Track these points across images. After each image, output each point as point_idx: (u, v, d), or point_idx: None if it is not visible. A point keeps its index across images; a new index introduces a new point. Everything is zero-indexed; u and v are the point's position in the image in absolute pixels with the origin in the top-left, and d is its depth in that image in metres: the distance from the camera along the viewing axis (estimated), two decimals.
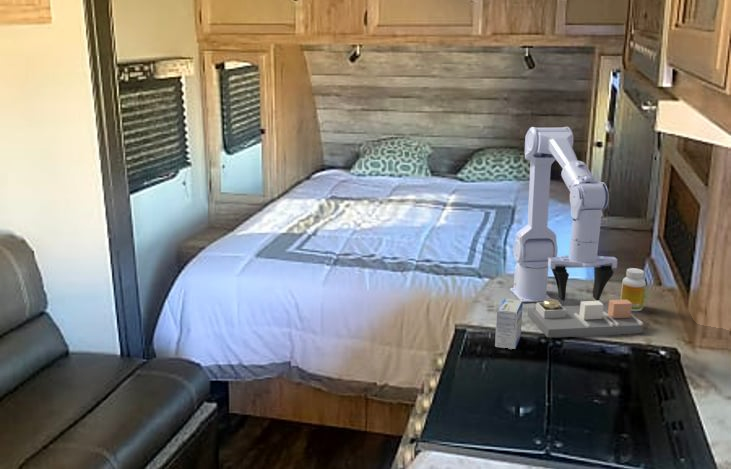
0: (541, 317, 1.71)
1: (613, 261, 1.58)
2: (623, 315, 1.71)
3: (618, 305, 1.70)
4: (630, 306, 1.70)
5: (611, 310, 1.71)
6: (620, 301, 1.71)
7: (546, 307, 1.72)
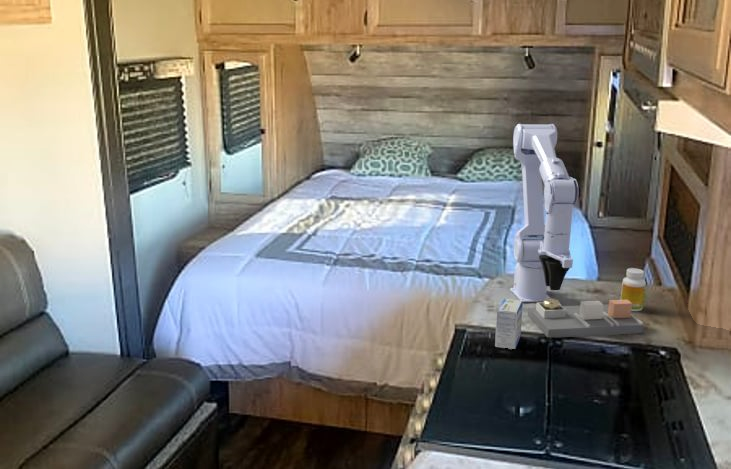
0: (541, 317, 1.71)
1: (562, 260, 1.63)
2: (623, 315, 1.71)
3: (618, 305, 1.70)
4: (630, 306, 1.70)
5: (611, 310, 1.71)
6: (620, 301, 1.71)
7: (546, 307, 1.72)
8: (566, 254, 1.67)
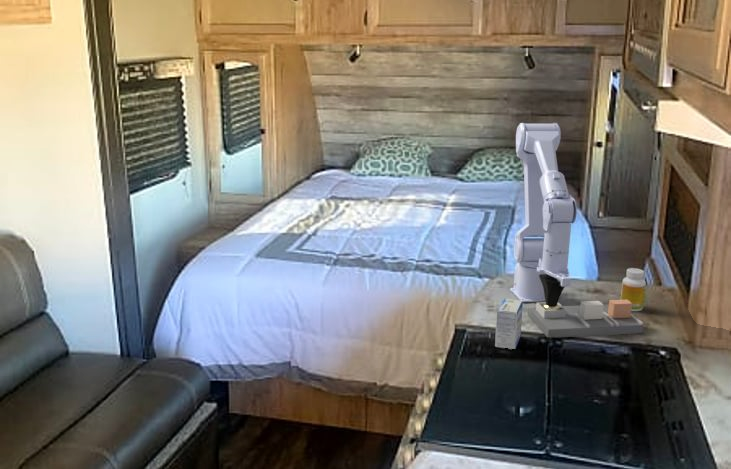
0: (541, 317, 1.71)
1: (560, 278, 1.64)
2: (623, 315, 1.71)
3: (618, 305, 1.70)
4: (630, 306, 1.70)
5: (611, 310, 1.71)
6: (620, 301, 1.71)
7: None
8: (564, 272, 1.68)
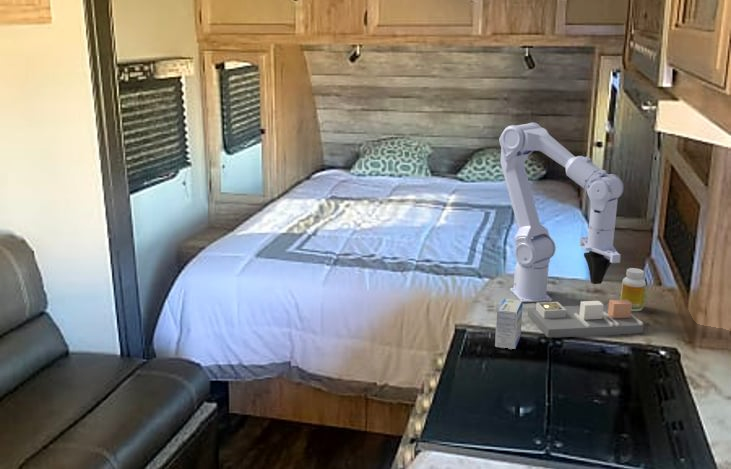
0: (541, 317, 1.71)
1: (610, 255, 1.66)
2: (623, 315, 1.71)
3: (618, 305, 1.70)
4: (630, 306, 1.70)
5: (611, 310, 1.71)
6: (620, 301, 1.71)
7: None
8: (611, 249, 1.70)
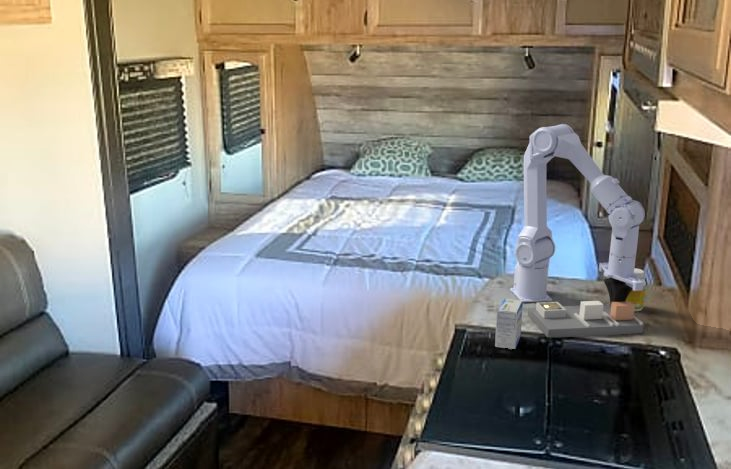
0: (541, 317, 1.71)
1: (633, 283, 1.65)
2: (625, 317, 1.70)
3: (620, 307, 1.69)
4: (632, 308, 1.69)
5: (613, 312, 1.70)
6: (622, 302, 1.70)
7: None
8: (633, 276, 1.69)
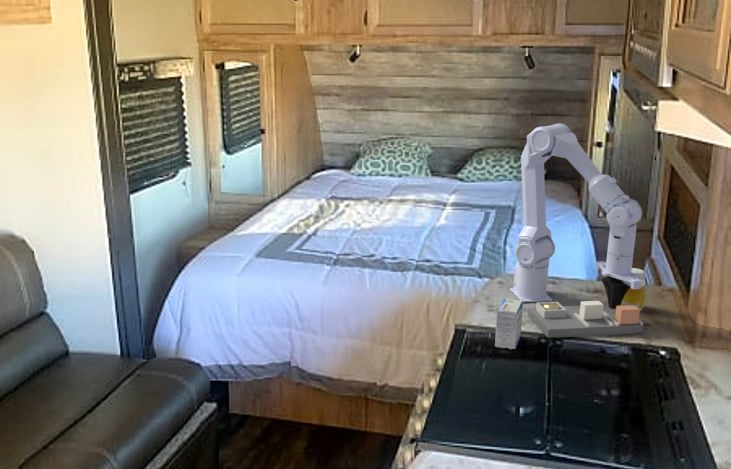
0: (541, 317, 1.71)
1: (631, 281, 1.66)
2: (630, 321, 1.67)
3: (625, 311, 1.66)
4: (638, 312, 1.67)
5: (618, 316, 1.68)
6: (627, 306, 1.68)
7: None
8: (630, 275, 1.70)
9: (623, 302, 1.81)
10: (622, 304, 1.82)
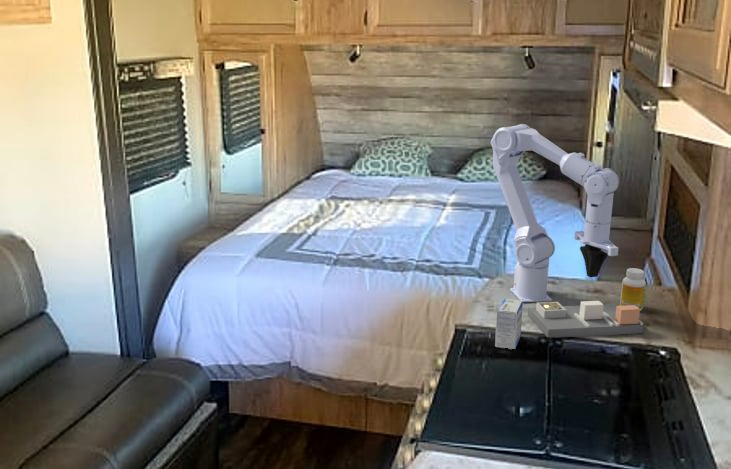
0: (541, 317, 1.71)
1: (608, 248, 1.68)
2: (630, 321, 1.67)
3: (625, 311, 1.66)
4: (638, 312, 1.67)
5: (618, 316, 1.68)
6: (627, 306, 1.68)
7: None
8: (608, 243, 1.72)
9: (623, 302, 1.81)
10: (622, 304, 1.82)
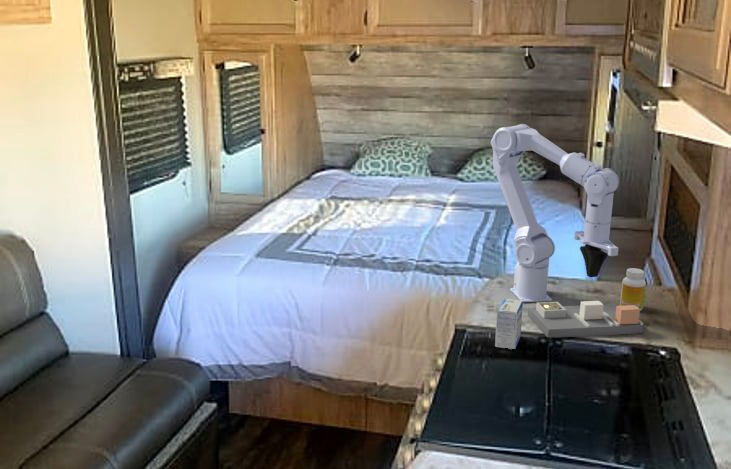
0: (541, 317, 1.71)
1: (608, 248, 1.68)
2: (630, 321, 1.67)
3: (625, 311, 1.66)
4: (638, 312, 1.67)
5: (618, 316, 1.68)
6: (627, 306, 1.68)
7: None
8: (608, 243, 1.72)
9: (623, 302, 1.81)
10: (622, 304, 1.82)
